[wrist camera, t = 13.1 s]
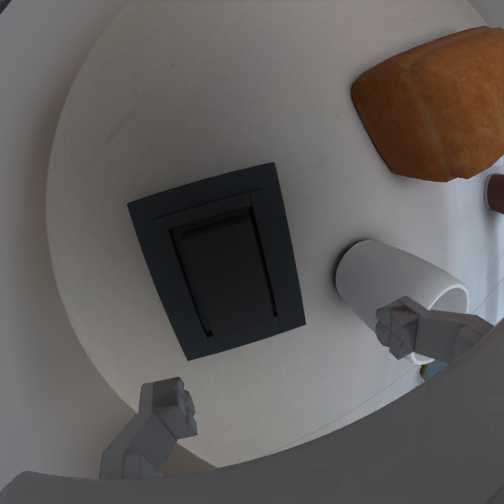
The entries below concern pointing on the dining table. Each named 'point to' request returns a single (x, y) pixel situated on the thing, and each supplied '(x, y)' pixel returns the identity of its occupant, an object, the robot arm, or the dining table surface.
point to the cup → (395, 284)
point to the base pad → (205, 213)
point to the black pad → (228, 275)
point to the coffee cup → (495, 192)
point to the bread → (438, 106)
